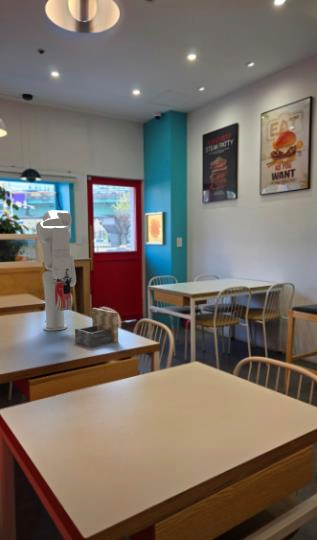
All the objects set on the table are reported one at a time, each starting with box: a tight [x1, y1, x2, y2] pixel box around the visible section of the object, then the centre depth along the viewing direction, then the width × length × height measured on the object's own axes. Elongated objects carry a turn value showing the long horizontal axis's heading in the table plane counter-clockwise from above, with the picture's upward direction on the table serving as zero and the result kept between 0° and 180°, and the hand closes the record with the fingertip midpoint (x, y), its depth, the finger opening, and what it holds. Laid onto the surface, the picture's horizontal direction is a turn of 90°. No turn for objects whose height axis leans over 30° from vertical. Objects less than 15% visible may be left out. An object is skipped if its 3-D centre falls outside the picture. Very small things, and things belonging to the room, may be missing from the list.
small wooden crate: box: [74, 307, 119, 348], centre depth 176 cm, size 18×13×14 cm
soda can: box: [55, 281, 72, 312], centre depth 173 cm, size 7×7×13 cm
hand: (62, 292), depth 173 cm, fingers closed on soda can, 6 cm apart
